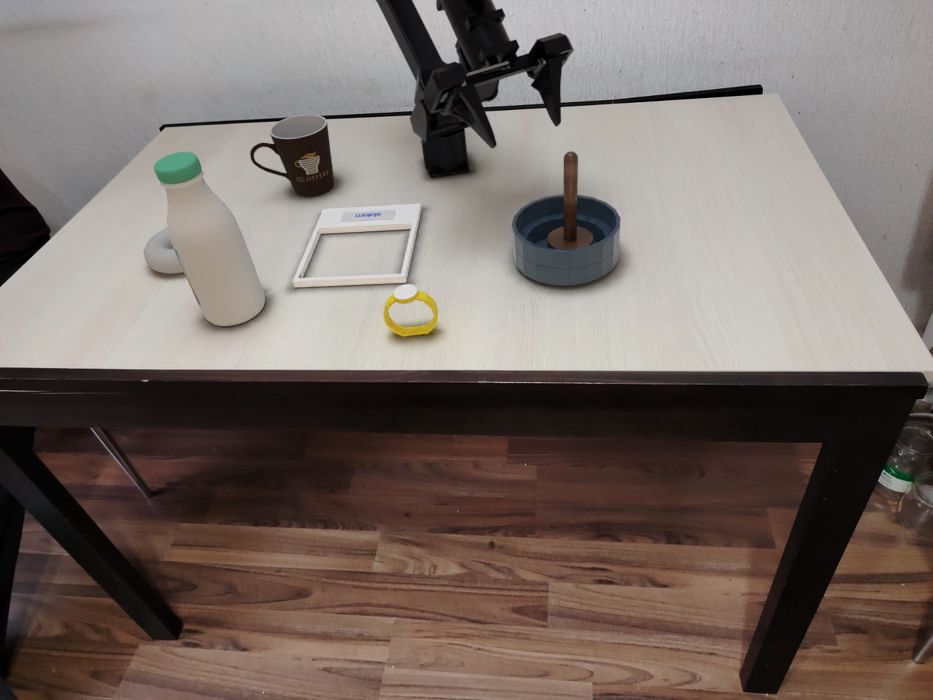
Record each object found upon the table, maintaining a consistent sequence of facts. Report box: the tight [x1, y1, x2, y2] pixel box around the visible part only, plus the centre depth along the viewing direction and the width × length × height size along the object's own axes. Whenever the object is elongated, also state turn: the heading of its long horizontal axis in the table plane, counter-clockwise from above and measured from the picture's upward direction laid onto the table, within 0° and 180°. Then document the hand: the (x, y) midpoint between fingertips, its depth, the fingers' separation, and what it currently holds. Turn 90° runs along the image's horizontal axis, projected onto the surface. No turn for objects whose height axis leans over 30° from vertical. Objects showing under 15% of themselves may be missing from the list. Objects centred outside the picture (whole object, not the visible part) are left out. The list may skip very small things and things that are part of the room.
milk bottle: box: [153, 151, 266, 327], centre depth 77 cm, size 8×8×20 cm
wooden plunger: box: [547, 150, 593, 249], centre depth 79 cm, size 6×6×14 cm
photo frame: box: [291, 203, 423, 288], centre depth 91 cm, size 15×1×18 cm
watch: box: [383, 283, 439, 338], centre depth 75 cm, size 6×3×6 cm, turn 90°
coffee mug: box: [249, 114, 335, 198], centre depth 103 cm, size 12×9×10 cm
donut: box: [143, 227, 184, 275], centre depth 93 cm, size 10×4×10 cm
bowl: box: [511, 194, 621, 287], centre depth 83 cm, size 13×13×6 cm
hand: (526, 135), depth 81 cm, fingers open, 9 cm apart
